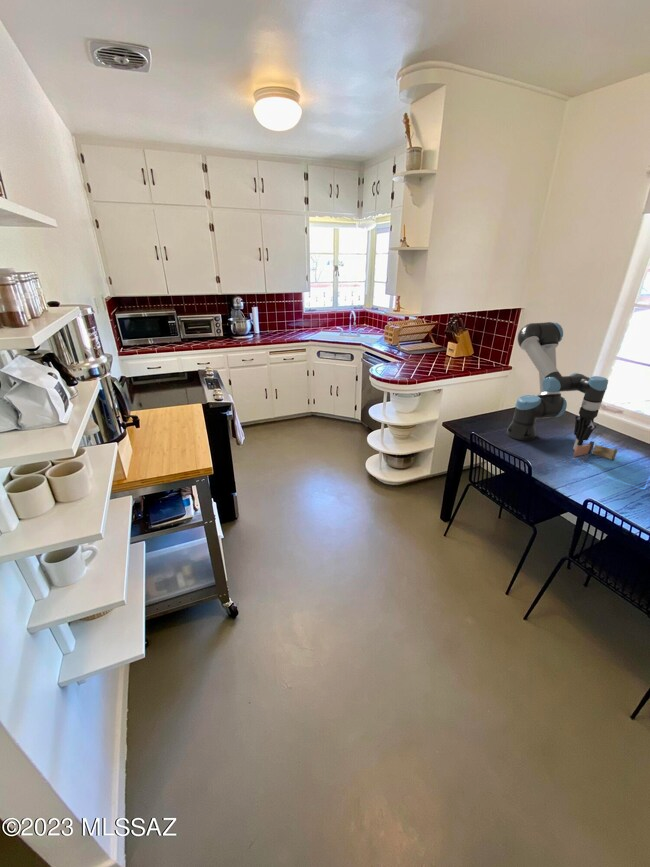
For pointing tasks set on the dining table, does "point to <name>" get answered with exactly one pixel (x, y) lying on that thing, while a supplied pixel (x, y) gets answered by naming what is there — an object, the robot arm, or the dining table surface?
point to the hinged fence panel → (581, 450)
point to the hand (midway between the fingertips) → (576, 449)
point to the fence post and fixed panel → (602, 451)
